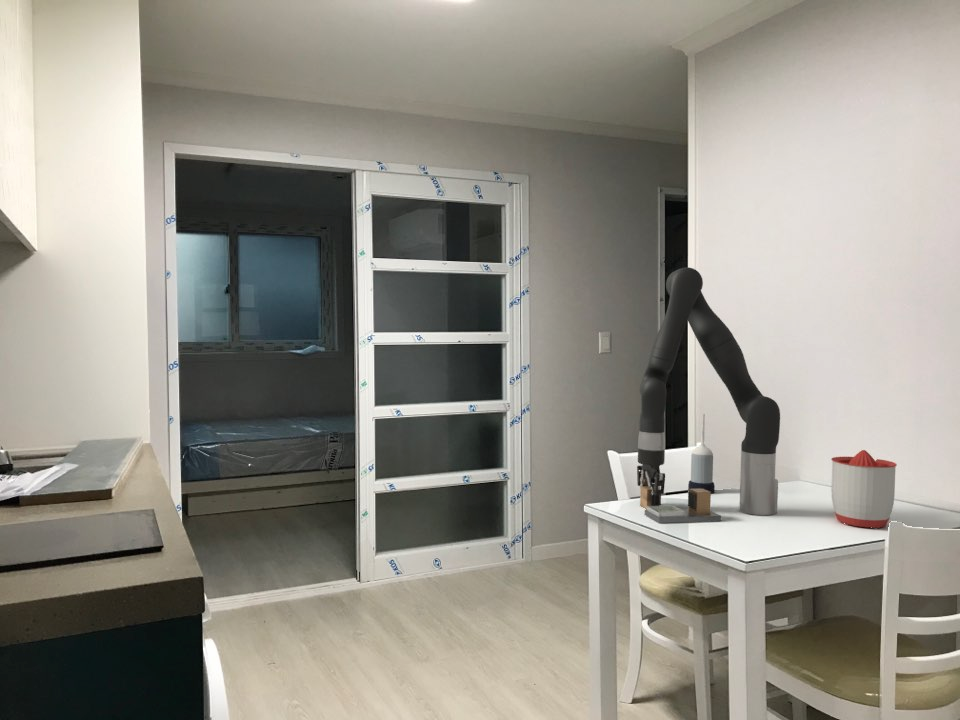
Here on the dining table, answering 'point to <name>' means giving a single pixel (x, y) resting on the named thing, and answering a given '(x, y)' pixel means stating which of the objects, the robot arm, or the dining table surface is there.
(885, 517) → the citrus juicer
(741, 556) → the dining table surface
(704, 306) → the robot arm
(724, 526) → the dining table surface
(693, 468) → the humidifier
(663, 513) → the rail dock
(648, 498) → the tan wooden block
